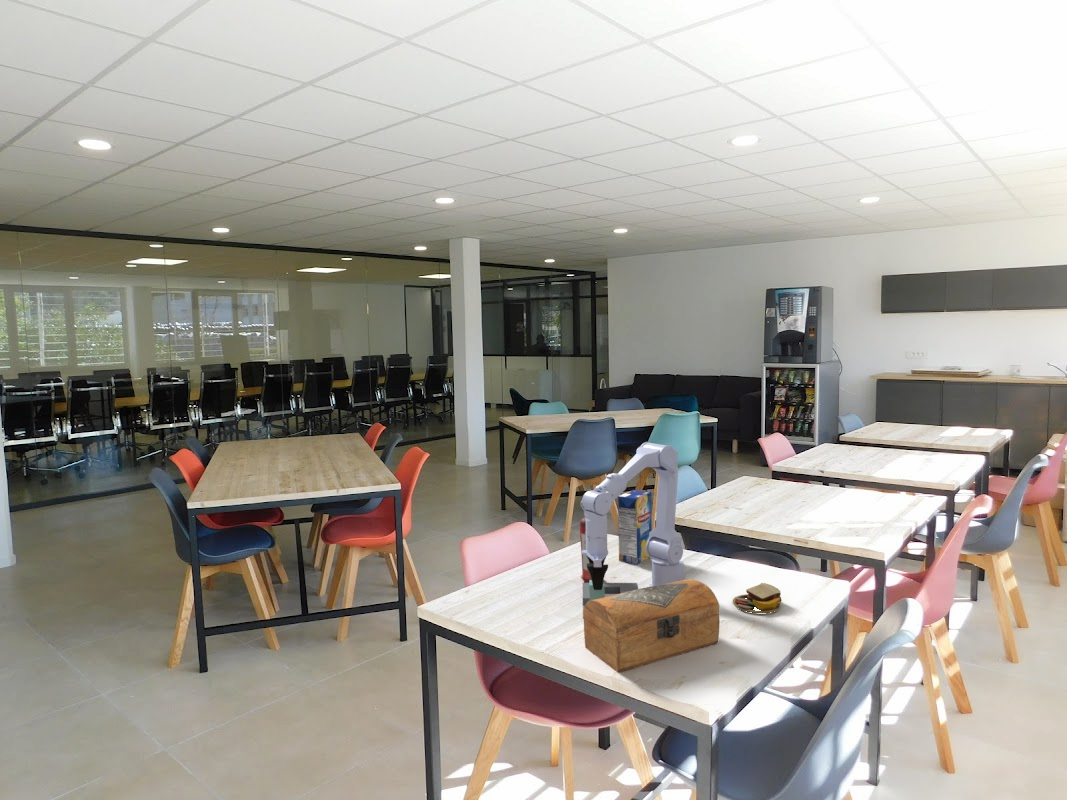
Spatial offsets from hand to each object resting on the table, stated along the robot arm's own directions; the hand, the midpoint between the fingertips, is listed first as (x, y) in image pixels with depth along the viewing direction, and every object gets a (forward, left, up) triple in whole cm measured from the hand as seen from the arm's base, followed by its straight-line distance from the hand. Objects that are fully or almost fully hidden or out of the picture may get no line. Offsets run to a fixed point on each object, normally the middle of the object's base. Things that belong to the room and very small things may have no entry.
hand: (597, 584), depth 186 cm
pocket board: (-4, -10, -8) cm, 13 cm away
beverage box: (-14, -46, -8) cm, 49 cm away
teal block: (0, 0, -8) cm, 8 cm away
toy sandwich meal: (-44, -6, -9) cm, 45 cm away
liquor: (+1, -24, -8) cm, 25 cm away
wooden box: (-13, +20, -8) cm, 25 cm away
